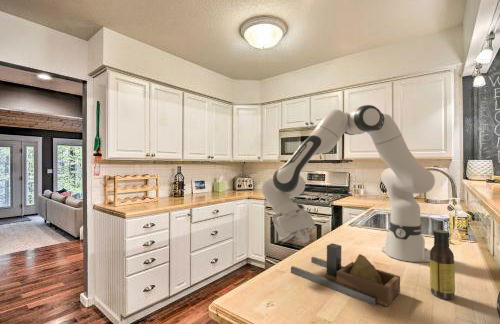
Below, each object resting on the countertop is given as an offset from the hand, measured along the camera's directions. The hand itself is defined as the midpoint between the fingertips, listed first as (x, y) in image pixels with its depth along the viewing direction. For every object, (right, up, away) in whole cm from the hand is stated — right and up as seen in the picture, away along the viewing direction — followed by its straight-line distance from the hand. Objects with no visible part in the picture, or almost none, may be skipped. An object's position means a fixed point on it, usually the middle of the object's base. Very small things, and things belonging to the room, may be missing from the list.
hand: (306, 241), depth 99 cm
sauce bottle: (+38, -11, -19) cm, 44 cm away
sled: (+14, -10, -14) cm, 22 cm away
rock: (+16, -11, -15) cm, 24 cm away
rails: (+9, -11, -9) cm, 17 cm away
